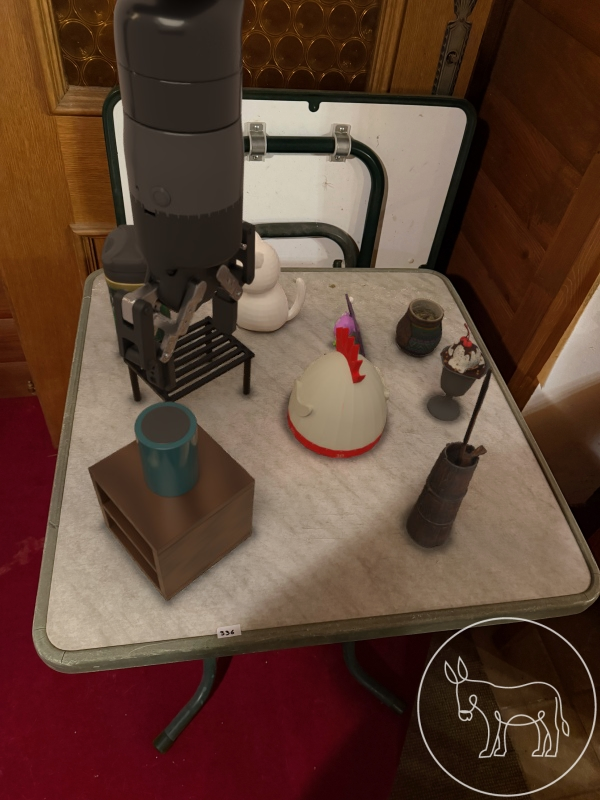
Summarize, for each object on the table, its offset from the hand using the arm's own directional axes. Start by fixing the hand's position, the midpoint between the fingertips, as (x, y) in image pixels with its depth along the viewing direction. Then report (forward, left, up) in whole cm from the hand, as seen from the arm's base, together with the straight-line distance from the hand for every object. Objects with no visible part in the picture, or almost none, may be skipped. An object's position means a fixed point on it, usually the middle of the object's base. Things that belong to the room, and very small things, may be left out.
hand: (195, 355), depth 49 cm
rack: (+10, +15, -26) cm, 32 cm away
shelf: (-4, -1, -26) cm, 26 cm away
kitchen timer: (+23, -1, -26) cm, 35 cm away
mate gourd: (+44, +1, -26) cm, 51 cm away
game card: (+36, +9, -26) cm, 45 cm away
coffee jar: (+11, +28, -26) cm, 40 cm away
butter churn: (+20, -21, -26) cm, 39 cm away
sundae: (+37, -10, -26) cm, 46 cm away
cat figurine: (+29, +21, -26) cm, 44 cm away
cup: (-4, -1, -14) cm, 14 cm away
